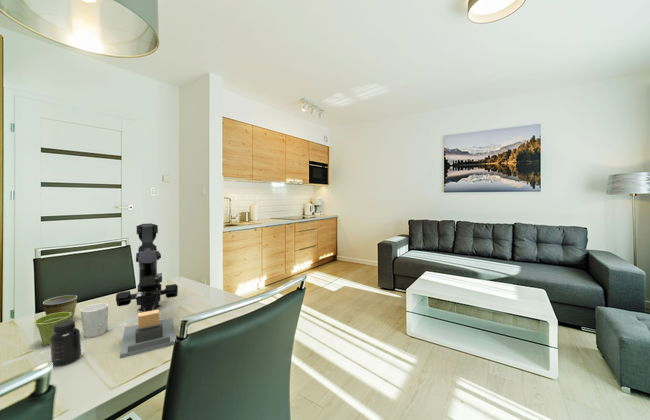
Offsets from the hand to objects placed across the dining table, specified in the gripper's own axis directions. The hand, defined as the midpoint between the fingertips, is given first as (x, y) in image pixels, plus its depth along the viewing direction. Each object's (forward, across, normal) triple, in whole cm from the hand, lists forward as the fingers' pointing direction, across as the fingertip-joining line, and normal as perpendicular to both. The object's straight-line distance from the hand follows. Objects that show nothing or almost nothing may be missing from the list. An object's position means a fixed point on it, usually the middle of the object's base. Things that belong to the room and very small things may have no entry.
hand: (148, 316), depth 95 cm
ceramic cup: (-19, -31, +34) cm, 50 cm away
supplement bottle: (+5, -22, +9) cm, 24 cm away
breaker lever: (+2, 0, +4) cm, 4 cm away
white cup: (-7, -17, +21) cm, 28 cm away
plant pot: (-7, -29, +21) cm, 36 cm away
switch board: (+3, 0, +11) cm, 11 cm away
